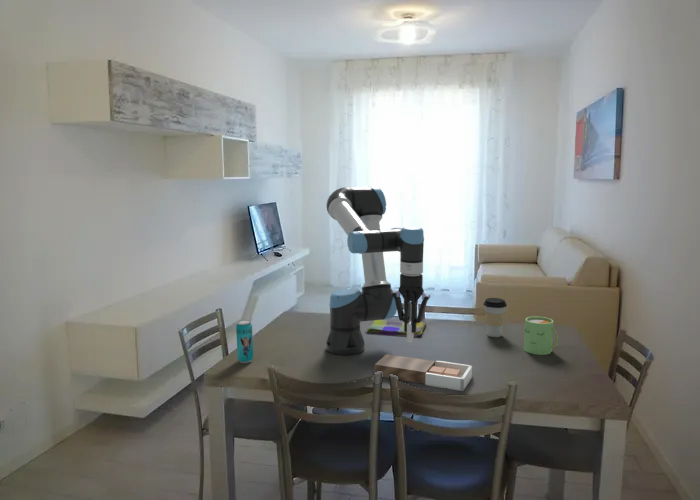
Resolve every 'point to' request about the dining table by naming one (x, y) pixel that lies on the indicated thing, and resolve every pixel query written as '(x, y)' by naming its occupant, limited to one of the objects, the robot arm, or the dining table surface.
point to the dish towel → (393, 328)
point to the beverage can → (244, 341)
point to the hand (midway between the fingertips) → (410, 341)
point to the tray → (450, 381)
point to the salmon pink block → (437, 370)
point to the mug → (539, 335)
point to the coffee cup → (494, 316)
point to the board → (404, 367)
